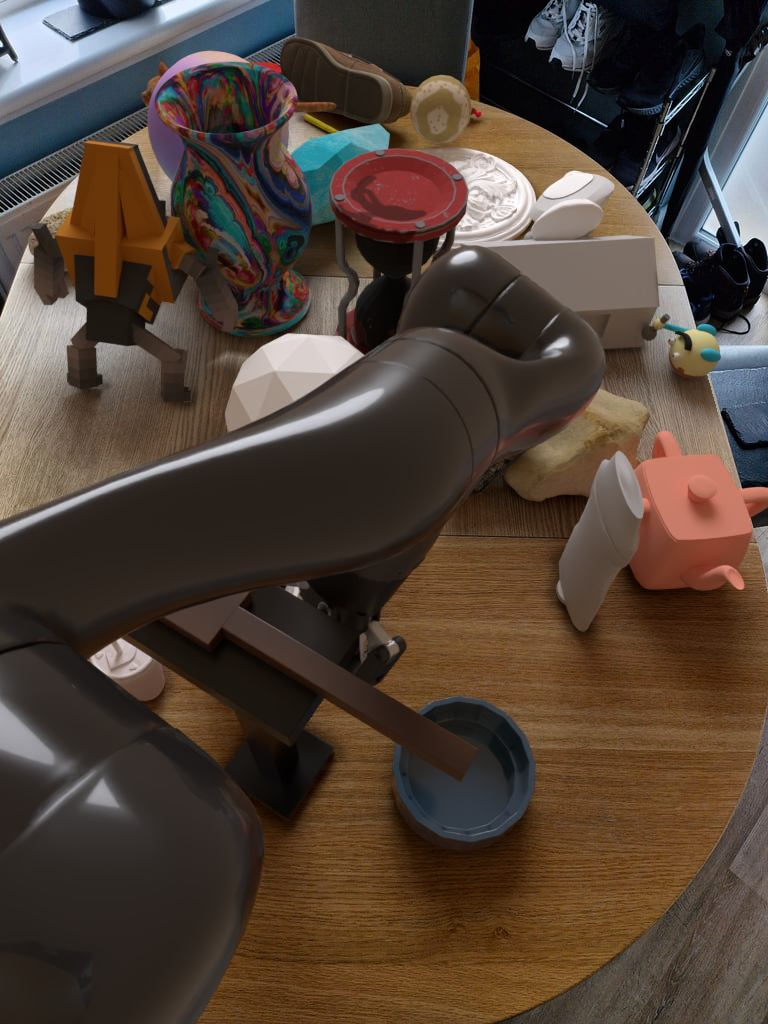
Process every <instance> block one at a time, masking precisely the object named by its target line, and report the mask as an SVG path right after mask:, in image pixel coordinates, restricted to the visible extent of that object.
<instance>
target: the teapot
mask: <svg viewBox="0 0 768 1024" xmlns="http://www.w3.org/2000/svg"><path fill="white" fill-rule="evenodd" d="M651 452H652V454H651V458H649V459H646V460H644V461H642V462H640V465H639V466H638V467H637V468H636V469H634V472H635V475H636V478H637V480H638V483H639V486H640V490H641V494H642V499H643V506H644V513H643V518H642V521H641V524H640V528H639V544H638V548H637V550H636V552H635V554H634V556H633V557H632V559H631V561H630V562H629V563H628V565H629V567H630V570H631V571H632V573H633V578H634V579H635V580H636V581H637V582H638V583H639V585H640V586H641V587H642V588H643V589H646V590H671V589H682V588H691V589H693V590H697V591H712V590H715V589H718V588H720V587H722V586H723V585H724V584H725V583H728V584H729V585H731V586H732V587H733V588H735V589H737V590H739V591H740V590H741V591H742V590H744V589H745V581H744V579H743V577H742V575H741V574H740V572H739V571H738V569H739V567H741V565H742V562H743V560H744V559H745V556H746V554H747V551H748V549H749V546H750V543H751V539H752V536H753V531H754V530H753V524H752V520H751V518H752V517H754V516H756V515H757V514H760V513H761V512H763V511H764V510H766V509H767V508H768V487H764V486H755V487H746V488H745V487H744V488H739V487H738V485H737V483H736V482H735V480H734V477H733V476H732V474H731V472H730V471H729V469H728V468H727V466H726V464H725V463H724V462H723V460H722V459H721V458H720V457H719V456H718V455H716V454H713V453H703V454H702V453H701V454H686V455H685V454H684V455H683V453H682V450H681V448H680V445H679V443H678V440H677V439H676V437H675V435H673V433H671V432H670V431H668V430H662V431H659V432H658V433H657V434H656V435H655V437H654V440H653V445H652V451H651Z"/></svg>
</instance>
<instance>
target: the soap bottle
mask: <svg viewBox="0 0 768 1024" xmlns="http://www.w3.org/2000/svg"><path fill="white" fill-rule="evenodd" d="M615 187H616V186H615V184H614V183H613V181H612V180H610V179H608V178H607V177H604V176H602V175H599V174H594V173H587V172H582V171H579V170H570V171H568V172H567V173H565V174H564V176H563V177H562V178H560V179H558V180H557V181H555V182H554V183H552V184H550V185H549V186H548V187H547V188H546V189H545V190H544V191H543V193H542V194H541V195H540V196H539V197H538V198H537V199H536V203H535V204H534V205H533V207H532V208H531V210H530V213H529V217H530V218H531V219H532V221H533V222H534V223H533V225H532V226H531V229H530V231H531V235H532V237H533V238H534V239H535V240H536V241H541V240H575V239H578V238H580V237H582V236H584V235H586V234H587V233H588V232H590V231H591V230H593V229H594V228H595V229H596V228H598V226H600V223H601V222H602V221H603V219H604V214H605V213H604V210H603V209H602V208H603V207H604V205H605V204H606V202H607V201H608V200H609V198H610V197H611V196H612V194H613V192H614V190H615ZM595 229H594V230H595ZM594 230H593V231H594Z"/></svg>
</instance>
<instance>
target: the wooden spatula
mask: <svg viewBox="0 0 768 1024" xmlns="http://www.w3.org/2000/svg"><path fill="white" fill-rule="evenodd" d="M252 602H253V599H252V595H251V592H246V593H241V594H236V595H232V596H227V597H224V598H220V599H217V600H214V601H210V602H207V603H203V604H200V605H197V606H193V607H190V608H187V609H183V610H180V611H178V612H175V613H173V614H170V615H168V616H165V617H163V618H160V619H158V620H159V621H160V622H162V623H163V624H165V625H167V626H168V627H170V628H171V629H173V630H175V631H176V632H178V633H179V634H181V635H183V636H184V637H186V638H187V639H189V640H191V641H192V642H194V643H195V644H197V645H199V646H200V647H202V648H203V649H205V650H207V651H208V652H210V653H212V652H213V651H214V650H215V648H216V647H217V646H218V645H219V643H220V642H221V641H222V640H223V638H224V637H225V638H226V639H228V640H229V641H231V642H233V643H234V644H236V645H238V646H239V647H241V648H242V649H244V650H246V651H247V652H249V653H251V654H252V655H254V656H256V657H257V658H259V659H260V660H262V661H264V662H265V663H267V664H269V665H270V666H272V667H273V668H275V669H277V670H278V671H280V672H282V673H283V674H285V675H286V676H288V677H290V678H291V679H293V680H295V681H296V682H298V683H300V684H301V685H303V686H304V687H306V688H308V689H309V690H311V691H313V692H314V693H316V694H317V695H319V696H321V697H322V698H324V699H323V700H325V701H327V702H329V703H330V704H332V705H333V706H335V707H337V708H339V709H340V710H342V711H343V712H345V713H346V714H348V715H350V716H352V718H353V717H354V718H355V719H357V720H358V721H359V722H360V723H361V722H362V723H363V724H364V725H367V726H368V727H370V728H371V729H373V731H376V732H378V733H379V734H381V735H382V736H384V737H386V738H388V739H389V740H391V741H392V742H394V743H395V744H396V743H397V744H399V745H401V746H402V747H404V748H405V749H407V750H409V751H410V752H412V753H414V754H415V755H417V756H418V757H420V758H422V759H423V760H425V761H427V762H428V763H430V764H431V765H433V766H435V767H436V768H438V769H440V770H441V771H443V772H445V773H446V774H448V775H449V776H451V777H453V778H454V779H456V780H458V781H459V782H461V781H462V780H463V778H464V776H465V774H466V772H467V770H468V768H469V767H470V765H471V763H472V761H473V759H474V757H475V755H476V753H477V751H478V749H477V748H476V747H474V746H473V745H471V744H469V743H468V742H466V741H464V740H463V739H461V738H459V737H458V736H456V735H454V734H452V733H451V732H449V731H447V730H446V729H444V728H442V727H441V726H439V725H437V724H436V723H434V722H432V721H431V720H429V719H427V718H426V717H424V716H422V715H421V714H419V713H417V712H418V711H416V710H414V709H413V708H410V707H409V706H407V705H405V704H404V703H402V702H401V701H399V700H398V699H395V698H394V697H392V696H391V695H389V694H387V693H385V692H383V691H382V690H380V689H379V688H377V687H375V685H374V686H372V685H370V684H369V683H367V682H365V681H364V680H362V679H360V678H359V677H357V676H355V675H354V674H352V673H350V672H349V671H347V670H345V669H343V668H342V667H340V666H338V665H337V664H335V663H333V662H332V661H330V660H328V659H327V658H325V657H323V656H322V655H320V654H318V653H317V652H315V651H313V650H312V649H310V648H308V647H307V646H305V645H303V644H302V643H300V642H298V641H297V640H295V639H293V638H291V637H290V636H288V635H286V634H285V633H283V632H281V631H280V630H278V629H276V628H275V627H273V626H271V625H270V624H268V623H266V622H265V621H263V620H261V619H260V618H258V617H256V616H255V615H253V614H251V613H250V612H248V611H246V609H247V608H248V607H249V605H250V604H251V603H252Z"/></svg>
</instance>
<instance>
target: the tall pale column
mask: <svg viewBox="0 0 768 1024" xmlns="http://www.w3.org/2000/svg"><path fill="white" fill-rule="evenodd" d="M643 513H644V506H643V499H642V494H641V490H640V486H639V483H638V480H637V478H636V475H635V472H634V470H633V468H632V466H631V464H630V462H629V461H628V459H627V457H626V456H625V455H624V454H623V453H622V452H621V451H617V452H616V453H615V455H614V456H613V457H612V458H611V459H610V460H606V459H605V460H603V461H602V463H601V465H600V467H599V469H598V471H597V474H596V476H595V479H594V482H593V484H592V487H591V493H590V497H588V499H587V503H586V505H585V507H584V510H583V512H582V513H581V516H580V518H579V520H578V521H579V522H577V523H576V525H574V528H573V529H572V532H571V534H570V537H569V539H568V540H567V543H566V545H565V546H564V547H565V548H564V550H563V552H562V554H561V556H560V559H559V561H558V574H559V575H558V576H559V580H558V582H557V584H556V586H555V594H556V596H557V599H558V600H559V601H560V602H561V604H563V605H565V607H566V610H567V612H568V615H569V617H570V620H571V622H572V625H573V626H574V627H575V628H576V629H577V630H578V631H580V632H586V631H587V630H588V629H589V627H590V625H591V623H592V622H593V620H594V618H595V617H596V615H597V613H598V612H599V610H600V608H601V606H602V605H603V602H605V598H606V596H607V594H608V590H609V588H610V587H611V586H612V583H613V581H614V580H615V578H616V577H617V575H619V573H620V571H621V570H622V569H623V568H625V567H627V566H628V565H629V562H630V561H631V559H632V557H633V556H634V554H635V552H636V550H637V548H638V544H639V528H640V524H641V521H642V518H643Z"/></svg>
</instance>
